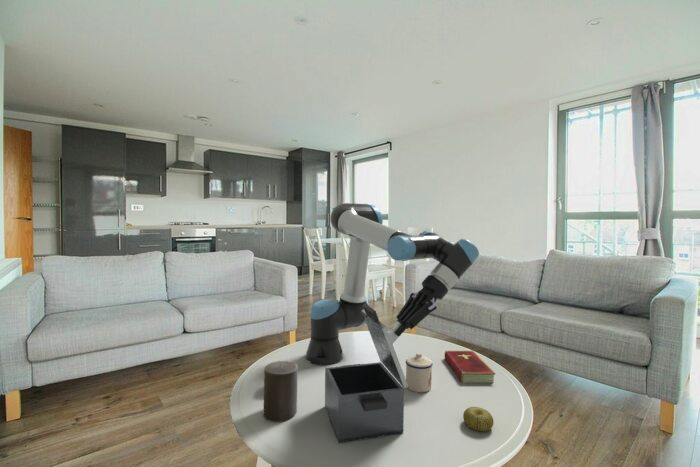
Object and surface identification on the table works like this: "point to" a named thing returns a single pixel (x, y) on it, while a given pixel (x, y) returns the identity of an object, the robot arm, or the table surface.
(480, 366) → the hardcover book
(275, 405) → the pillar candle
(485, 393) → the table surface
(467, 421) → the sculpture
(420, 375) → the teacup with lid
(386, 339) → the lid
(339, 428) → the grey storage box
